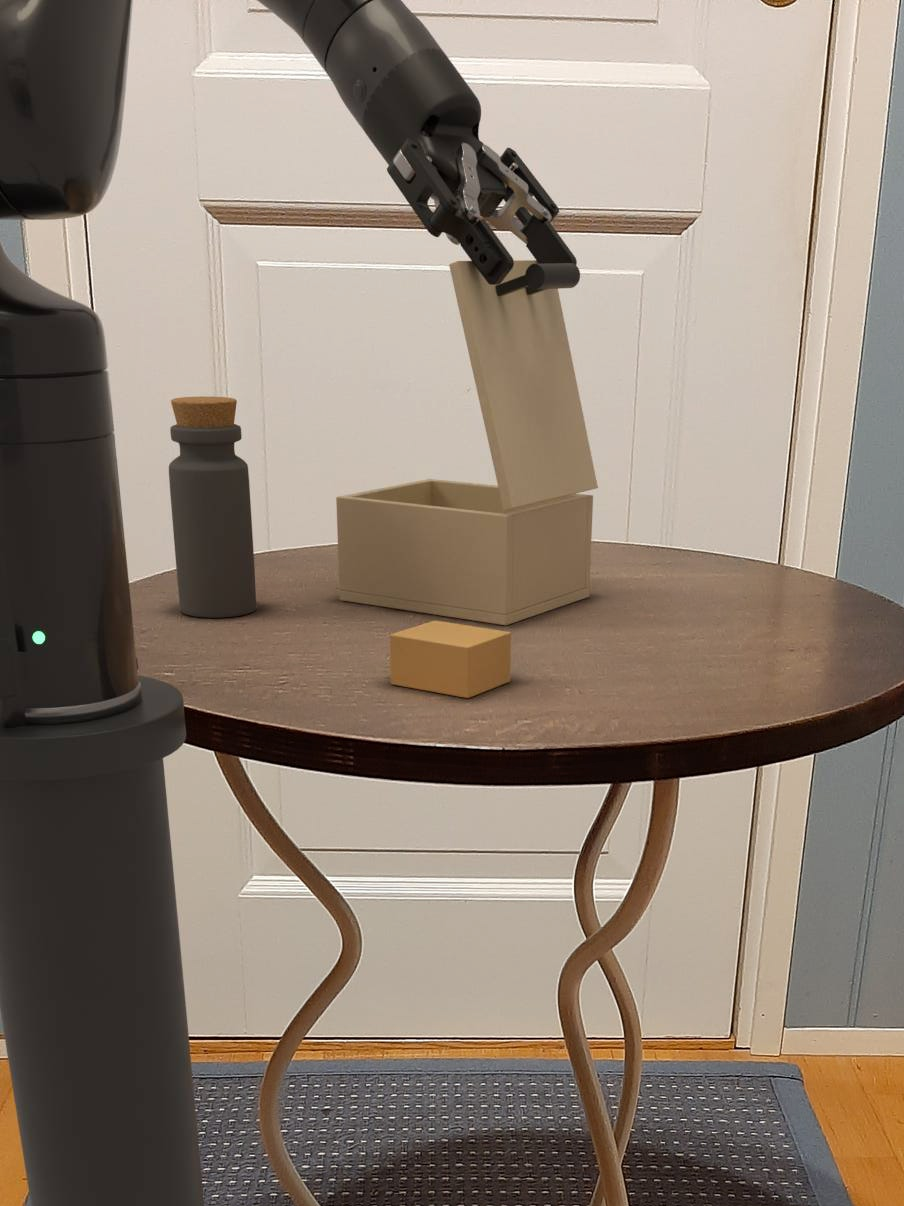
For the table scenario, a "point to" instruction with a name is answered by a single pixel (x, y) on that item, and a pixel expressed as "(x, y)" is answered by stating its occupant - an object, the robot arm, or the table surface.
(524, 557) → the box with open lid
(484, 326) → the hinged handled lid
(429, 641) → the tan cardboard carton
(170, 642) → the table surface
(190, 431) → the bottle
